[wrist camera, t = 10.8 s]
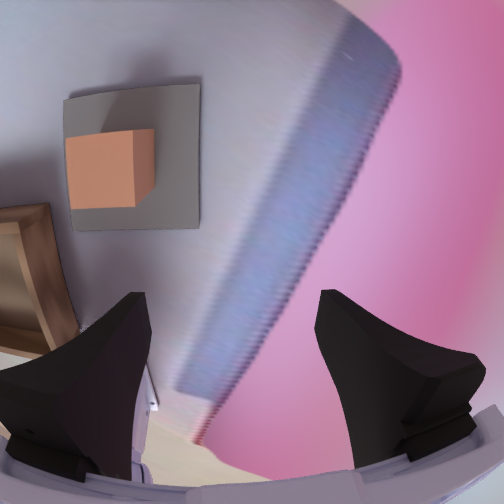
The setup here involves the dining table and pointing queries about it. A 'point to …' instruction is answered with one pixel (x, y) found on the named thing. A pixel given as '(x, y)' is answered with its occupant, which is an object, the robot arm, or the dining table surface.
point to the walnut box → (32, 285)
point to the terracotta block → (110, 168)
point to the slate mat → (165, 153)
